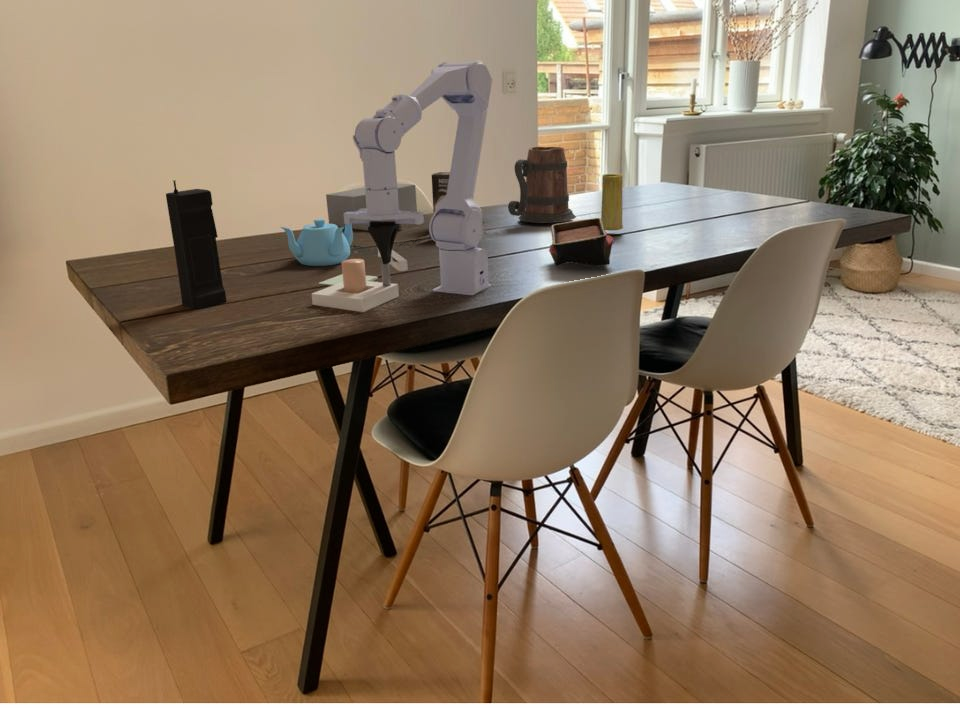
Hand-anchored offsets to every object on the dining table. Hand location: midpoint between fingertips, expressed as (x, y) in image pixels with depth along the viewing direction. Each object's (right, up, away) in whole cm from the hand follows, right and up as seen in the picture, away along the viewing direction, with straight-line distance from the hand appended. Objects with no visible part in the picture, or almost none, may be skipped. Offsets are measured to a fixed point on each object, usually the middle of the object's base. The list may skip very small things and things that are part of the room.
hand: (387, 263), depth 149 cm
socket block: (-7, -6, +11) cm, 14 cm away
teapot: (-20, +5, +45) cm, 49 cm away
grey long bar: (+1, +1, +4) cm, 4 cm away
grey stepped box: (-9, +19, +84) cm, 87 cm away
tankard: (+34, +23, +89) cm, 98 cm away
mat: (-11, -1, +26) cm, 28 cm away
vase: (+53, +17, +71) cm, 90 cm away
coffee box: (+10, +16, +74) cm, 76 cm away
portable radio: (-37, -8, +11) cm, 39 cm away
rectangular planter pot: (+40, +4, +38) cm, 56 cm away
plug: (-7, -6, +11) cm, 14 cm away
